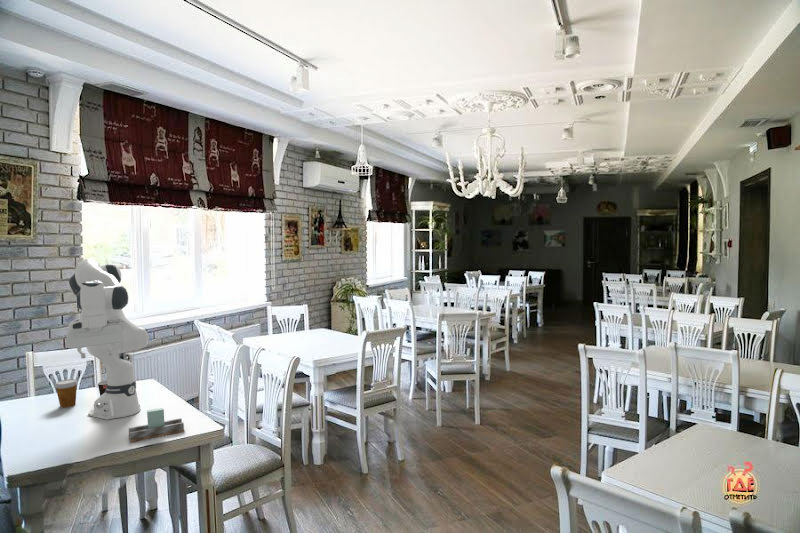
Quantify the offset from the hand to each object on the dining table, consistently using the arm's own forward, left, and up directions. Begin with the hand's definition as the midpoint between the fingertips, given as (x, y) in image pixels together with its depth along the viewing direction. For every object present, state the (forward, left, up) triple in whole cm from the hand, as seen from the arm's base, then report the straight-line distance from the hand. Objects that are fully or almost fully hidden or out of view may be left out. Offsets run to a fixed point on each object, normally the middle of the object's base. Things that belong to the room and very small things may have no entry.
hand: (97, 356), depth 210 cm
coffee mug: (-38, +38, -34) cm, 64 cm away
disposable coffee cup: (-54, +30, -34) cm, 71 cm away
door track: (+17, +11, -34) cm, 40 cm away
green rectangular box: (+17, +11, -33) cm, 39 cm away
